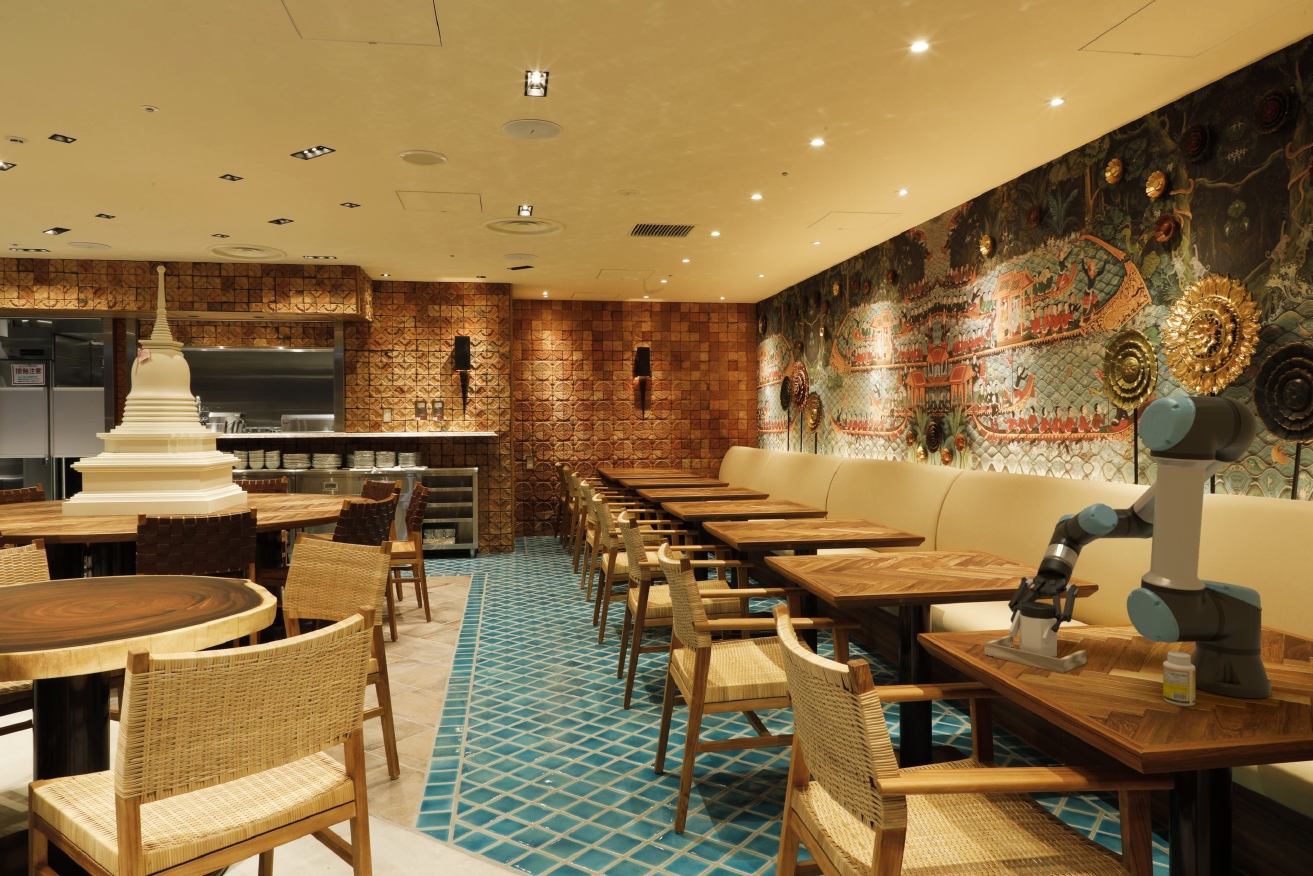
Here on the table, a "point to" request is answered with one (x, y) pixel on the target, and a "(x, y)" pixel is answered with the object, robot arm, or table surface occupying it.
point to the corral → (1032, 656)
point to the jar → (1037, 628)
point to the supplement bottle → (1179, 679)
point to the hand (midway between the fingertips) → (1028, 637)
